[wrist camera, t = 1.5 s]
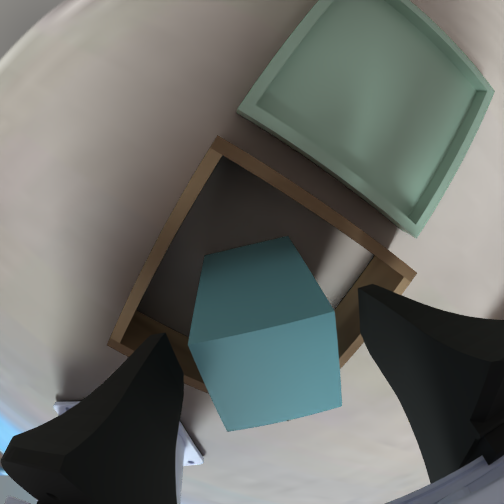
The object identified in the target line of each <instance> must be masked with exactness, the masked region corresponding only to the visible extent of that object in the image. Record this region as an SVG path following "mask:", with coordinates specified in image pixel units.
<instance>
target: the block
mask: <svg viewBox="0 0 504 504" xmlns="http://www.w3.org/2000/svg"><path fill="white" fill-rule="evenodd" d="M188 346H189V349H190V351H191V353H192V356H193V358H194V361H195V363H196V365H197V368H198V370H199V372H200V374H201V377H202V379H203V381H204V383H205V386H206V388H207V390H208V392H209V394H210V397H211V399H212V401H213V403H214V405H215V407H216V409H217V412H218V414H219V416H220V418H221V420H222V422H223V424H224V426H225V428H226V430H227V432H229V431H235V430H241V429H247V428H253V427H258V426H264V425H269V424H274V423H278V422H283V421H287V420H292V419H296V418H300V417H304V416H308V415H312V414H316V413H320V412H323V411H327V410H330V409H334V408H337V407H341V406H342V397H341V380H340V366H339V353H338V341H337V330H336V320H335V311H334V309H333V308H332V306H331V304H330V303H329V301H328V299H327V298H326V296H325V295H324V293H323V291H322V290H321V288H320V286H319V285H318V283H317V281H316V280H315V278H314V277H313V275H312V273H311V272H310V270H309V268H308V267H307V265H306V264H305V262H304V260H303V259H302V257H301V256H300V254H299V252H298V251H297V249H296V248H295V246H294V245H293V243H292V241H291V240H290V238H289V237H288V236H285V237H281V238H277V239H272V240H268V241H264V242H260V243H255V244H251V245H247V246H243V247H239V248H234V249H230V250H226V251H222V252H217V253H213V254H209V255H205V256H204V261H203V266H202V271H201V276H200V281H199V286H198V292H197V297H196V302H195V308H194V313H193V318H192V324H191V330H190V335H189V341H188Z"/></svg>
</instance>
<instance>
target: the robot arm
mask: <svg viewBox="0 0 504 504" xmlns="http://www.w3.org/2000/svg"><path fill="white" fill-rule="evenodd" d="M358 302H359V319H360V333H361V336H362V338H363V340H364V342H365V345H366V347H367V349H368V351H369V353H370V355H371V356H372V358H373V359H374V361H375V362H376V364H377V366H378V367H379V369H380V370H381V372H382V373H383V375H384V376H385V378H386V379H387V381H388V383H389V384H390V386H391V387H392V389H393V390H394V392H395V394H396V395H397V397H398V399H399V401H400V403H401V405H402V407H403V409H404V411H405V413H406V416H407V418H408V420H409V422H410V425H411V427H412V430H413V432H414V435H415V437H416V440H417V442H418V445H419V448H420V451H421V453H422V456H423V459H424V462H425V465H426V469H427V472H428V476H429V479H430V483H431V484H430V485H428V486H425V487H423V488H421V489H419V490H417V491H414V492H412V493H410V494H408V495H405V496H403V497H400V498H398V499H395V500H393V501H390V502H388V503H385V504H504V320H492V319H483V318H475V317H469V316H464V315H459V314H455V313H451V312H447V311H443V310H440V309H436V308H433V307H431V306H428V305H425V304H422V303H419V302H417V301H414V300H411V299H409V298H407V297H404V296H402V295H399V294H397V293H395V292H392V291H390V290H388V289H385V288H383V287H380V286H378V285H375V284H370V285H367V286H363V287H360V288H358ZM183 394H184V373H183V370H182V368H181V366H180V364H179V362H178V360H177V357H176V355H175V353H174V351H173V349H172V346H171V344H170V342H169V339H168V337H167V335H166V333H159V334H154V335H150V336H149V337H148V338H147V339H146V340H145V341H144V342H143V343H142V344H141V345H140V346H139V347H138V348H137V349H136V350H135V351H134V352H133V353H132V354H131V356H130V357H129V358H128V359H127V360H126V361H125V362H124V363H123V364H122V365H121V366H120V367H119V368H118V369H117V370H116V371H115V372H114V373H113V374H112V375H111V376H110V377H109V378H108V379H107V380H106V381H105V382H104V383H103V384H102V385H101V386H99V387H98V388H97V389H96V390H95V391H94V392H92V393H91V394H90V395H89V396H87V397H86V398H85V399H83V400H82V401H77V402H55V404H54V405H53V407H54V409H55V410H56V412H57V413H58V414H59V415H58V417H56V418H54V419H52V420H50V421H48V422H46V423H44V424H43V425H40V426H38V427H36V428H34V429H31V430H29V431H26V432H24V433H21V434H18V435H15V436H13V438H12V439H11V441H10V443H9V445H8V447H7V449H6V451H5V453H4V455H3V457H2V459H1V464H2V466H3V469H4V470H5V471H6V473H7V474H8V475H9V476H10V477H11V478H12V479H13V480H14V481H15V482H16V483H17V484H19V485H20V486H21V487H22V488H23V489H24V490H26V491H27V492H28V493H29V494H31V495H32V496H33V497H34V498H36V501H37V504H180V501H181V487H182V475H183V466H187V465H200V464H202V463H203V462H204V458H203V456H202V455H201V453H200V452H199V450H198V449H197V447H196V446H195V444H194V443H193V441H192V440H191V438H190V437H189V435H188V433H187V432H186V430H185V429H184V427H183V425H182V424H181V422H180V415H181V409H182V402H183ZM5 504H30V503H28V502H26V501H23V500H20V499H17V498H15V497H12V496H7V498H6V501H5Z"/></svg>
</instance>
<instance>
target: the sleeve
mask: <svg viewBox="0 0 504 504" xmlns="http://www.w3.org/2000/svg"><path fill="white" fill-rule="evenodd" d="M222 155H223V156H225V157H227V158H228V159H230V160H232V161H233V162H235V163H237V164H238V165H240V166H241V167H243V168H245V169H246V170H248V171H250V172H251V173H253V174H254V175H256V176H258V177H259V178H261V179H263V180H264V181H266V182H267V183H269V184H270V185H272V186H274V187H275V188H277V189H278V190H280V191H281V192H283V193H285V194H286V195H288V196H289V197H291V198H292V199H294V200H295V201H297V202H298V203H300V204H301V205H303V206H304V207H306V208H307V209H309V210H310V211H312V212H313V213H315V214H316V215H318V216H319V217H321V218H322V219H324V220H325V221H327V222H328V223H330V224H331V225H333V226H334V227H336V228H337V229H338V230H340V231H341V232H343V233H344V234H346V235H347V236H349V237H350V238H351V239H353V240H354V241H356V242H357V243H358V244H360V245H361V246H363V247H364V248H365V249H367V250H368V251H370V252H371V253H372V254H374V255H375V256H374V258H373V259H372V260H371V262H370V263H369V265H368V266H367V267H366V269H365V270H364V272H363V273H362V274H361V276H360V277H359V278H358V280H357V281H356V283H355V284H354V285H353V287H352V288H351V289H350V291H349V292H348V293H347V295H346V296H345V297H344V299H343V300H342V301H341V302H340V304H339V305H338V306H337V308H336V309H335V310H334V311H335V320H336V330H337V341H338V353H339V366H340V369H341V367H342V366H343V365H344V364H345V363H346V362H347V361H348V360H349V359H350V357H351V356H352V355H353V354H354V353H355V352H356V351H357V349H358V348H359V347H360V346H361V345H362V344H363V342H364V340H363V338H362V336H361V333H360V319H359V302H358V288H360V287H363V286H367V285H370V284H375V285H378V286H380V287H383V288H385V289H388V290H390V291H392V292H395V293H397V294H399V295H402V293H403V292H404V291H405V289H406V288H407V286H408V285H409V284H410V282H411V281H412V280H413V278H414V277H415V275H416V274H417V272H415V271H414V270H413V269H412V268H410V267H409V266H408V265H407V264H405V263H404V262H403V261H402V260H400V259H399V258H398V257H396V256H395V255H394V254H393V253H391V252H390V251H389V250H387V249H386V248H385V247H384V246H382V245H381V244H380V243H378V242H377V241H376V240H374V239H373V238H372V237H370V236H369V235H368V234H366V233H365V232H364V231H362V230H361V229H360V228H358V227H357V226H355V225H354V224H353V223H351V222H350V221H349V220H347V219H346V218H344V217H343V216H342V215H340V214H339V213H337V212H336V211H335V210H333V209H332V208H330V207H329V206H327V205H326V204H325V203H323V202H322V201H320V200H319V199H317V198H316V197H314V196H313V195H311V194H310V193H308V192H307V191H305V190H304V189H303V188H301V187H300V186H298V185H297V184H295V183H293V182H292V181H290V180H289V179H287V178H286V177H284V176H283V175H281V174H280V173H278V172H277V171H275V170H274V169H272V168H270V167H269V166H267V165H266V164H264V163H262V162H261V161H259V160H258V159H256V158H254V157H253V156H251V155H250V154H248V153H246V152H245V151H243V150H241V149H240V148H238V147H236V146H235V145H233V144H231V143H230V142H228V141H226V140H225V139H223V138H221V137H220V136H217V137H216V139H215V140H214V142H213V143H212V145H211V147H210V148H209V150H208V151H207V153H206V155H205V156H204V158H203V160H202V161H201V163H200V165H199V166H198V168H197V170H196V171H195V173H194V175H193V176H192V178H191V180H190V181H189V183H188V185H187V186H186V188H185V190H184V192H183V193H182V195H181V197H180V199H179V200H178V202H177V204H176V206H175V208H174V209H173V211H172V213H171V215H170V217H169V218H168V220H167V222H166V224H165V226H164V228H163V229H162V231H161V233H160V235H159V237H158V239H157V241H156V243H155V245H154V246H153V248H152V250H151V252H150V254H149V256H148V258H147V260H146V262H145V264H144V266H143V268H142V270H141V272H140V274H139V276H138V278H137V280H136V282H135V284H134V286H133V288H132V290H131V293H130V295H129V297H128V299H127V301H126V303H125V305H124V307H123V310H122V312H121V314H120V316H119V318H118V321H117V323H116V325H115V327H114V330H113V332H112V334H111V336H110V339H109V341H108V343H107V345H108V346H109V347H111V348H113V349H115V350H117V351H119V352H120V353H122V354H124V355H126V356H128V357H130V356H131V354H132V353H133V352H134V351H135V350H136V349H137V348H138V347H139V346H140V345H141V344H142V343H143V342H144V341H145V340H146V339H147V338H148V337H149V336H150V335H154V334H159V333H166V335H167V337H168V339H169V342H170V344H171V346H172V349H173V351H174V353H175V355H176V357H177V360H178V362H179V364H180V366H181V368H182V370H183V373H184V383H185V384H187V385H189V386H192V387H194V388H196V389H199V390H201V391H204V392H206V393H208V394H209V392H208V390H207V388H206V386H205V383H204V381H203V379H202V377H201V374H200V372H199V370H198V368H197V365H196V363H195V361H194V358H193V356H192V353H191V351H190V349H189V346H188V341H189V337H187V336H185V335H183V334H181V333H179V332H177V331H175V330H173V329H171V328H169V327H167V326H165V325H163V324H161V323H159V322H157V321H155V320H153V319H151V318H150V317H148V316H146V315H144V314H142V313H140V312H138V311H137V310H136V309H137V307H138V305H139V303H140V301H141V299H142V297H143V295H144V293H145V291H146V289H147V287H148V285H149V283H150V281H151V279H152V277H153V276H154V274H155V272H156V270H157V268H158V266H159V264H160V262H161V260H162V259H163V257H164V255H165V253H166V251H167V249H168V247H169V246H170V244H171V242H172V240H173V238H174V237H175V235H176V233H177V231H178V229H179V228H180V226H181V224H182V222H183V221H184V219H185V217H186V215H187V214H188V212H189V210H190V208H191V207H192V205H193V203H194V202H195V200H196V198H197V196H198V195H199V193H200V191H201V190H202V188H203V186H204V185H205V183H206V181H207V180H208V178H209V176H210V175H211V173H212V172H213V170H214V168H215V167H216V165H217V163H218V162H219V160H220V159H221V157H222ZM287 421H289V420H287Z"/></svg>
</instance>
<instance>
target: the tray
mask: <svg viewBox="0 0 504 504" xmlns="http://www.w3.org/2000/svg"><path fill="white" fill-rule="evenodd" d="M494 92H495V91H494V90H493V88H492V87H491V86H490V84H489V83H488V82H487V80H486V79H485V78H484V77H483V75H482V74H481V73H480V72H479V70H478V69H477V68H476V67H475V65H474V64H473V63H472V62H471V61H470V60H469V58H468V57H467V56H466V55H465V54H464V53H463V52H462V51H461V49H460V48H459V47H458V46H457V45H456V44H455V43H454V42H453V41H452V40H451V39H450V38H449V37H448V36H447V35H446V34H445V33H444V32H443V31H442V30H441V29H440V28H439V27H438V26H437V25H436V24H435V23H434V22H433V21H432V20H431V19H430V18H429V17H428V16H427V15H426V14H425V13H423V12H422V11H421V10H420V9H419V8H418V7H417V6H416V5H414V4H413V3H412V2H411V1H410V0H318V2H317V3H316V4H315V5H314V6H313V8H312V9H311V10H310V11H309V12H308V14H307V15H306V16H305V17H304V19H303V20H302V21H301V22H300V24H299V25H298V26H297V27H296V29H295V30H294V31H293V32H292V34H291V35H290V36H289V38H288V39H287V40H286V42H285V43H284V44H283V45H282V47H281V48H280V49H279V51H278V52H277V53H276V55H275V56H274V57H273V59H272V60H271V62H270V63H269V64H268V66H267V67H266V68H265V70H264V71H263V73H262V74H261V75H260V77H259V78H258V80H257V81H256V82H255V84H254V85H253V87H252V88H251V89H250V91H249V92H248V94H247V95H246V97H245V98H244V100H243V101H242V103H241V104H240V106H239V107H238V109H237V114H239V115H241V116H242V117H244V118H246V119H247V120H249V121H251V122H252V123H254V124H256V125H257V126H259V127H260V128H262V129H264V130H265V131H267V132H268V133H270V134H272V135H273V136H275V137H276V138H278V139H279V140H281V141H282V142H284V143H285V144H287V145H288V146H290V147H291V148H293V149H294V150H296V151H297V152H299V153H300V154H302V155H303V156H305V157H306V158H308V159H309V160H311V161H312V162H313V163H315V164H316V165H318V166H319V167H321V168H322V169H323V170H325V171H326V172H328V173H329V174H330V175H332V176H333V177H334V178H336V179H337V180H339V181H340V182H341V183H343V184H344V185H345V186H347V187H348V188H349V189H351V190H352V191H353V192H355V193H356V194H357V195H359V196H360V197H361V198H362V199H364V200H365V201H366V202H368V203H369V204H370V205H371V206H373V207H374V208H375V209H376V210H378V211H379V212H380V213H381V214H383V215H384V216H385V217H386V218H388V219H389V220H390V221H391V222H392V223H394V224H395V225H396V226H397V227H398V228H400V229H401V230H402V231H404V232H406V233H407V234H409V235H411V236H413V237H414V238H416V239H417V237H418V236H419V234H420V232H421V231H422V229H423V228H424V226H425V225H426V223H427V221H428V220H429V218H430V217H431V215H432V213H433V212H434V210H435V208H436V207H437V205H438V203H439V202H440V200H441V198H442V197H443V195H444V193H445V192H446V190H447V188H448V186H449V184H450V183H451V181H452V179H453V177H454V176H455V174H456V172H457V170H458V168H459V166H460V164H461V163H462V161H463V159H464V157H465V155H466V153H467V151H468V149H469V147H470V145H471V143H472V141H473V139H474V137H475V135H476V133H477V131H478V129H479V126H480V124H481V122H482V120H483V118H484V115H485V113H486V111H487V109H488V106H489V104H490V102H491V99H492V97H493V95H494Z"/></svg>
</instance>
